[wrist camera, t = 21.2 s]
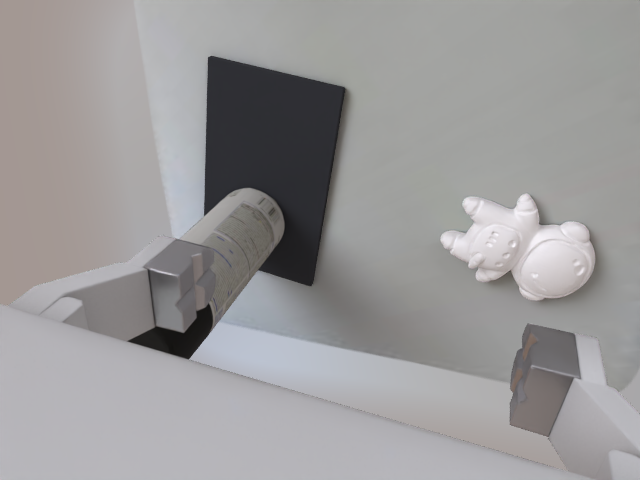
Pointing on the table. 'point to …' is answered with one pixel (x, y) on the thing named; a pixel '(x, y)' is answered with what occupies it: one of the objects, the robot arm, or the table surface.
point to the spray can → (224, 262)
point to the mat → (274, 152)
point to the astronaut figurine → (523, 248)
